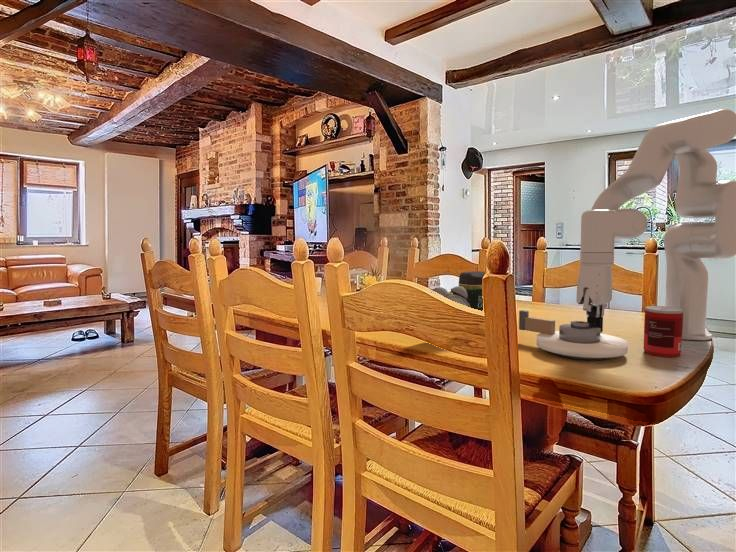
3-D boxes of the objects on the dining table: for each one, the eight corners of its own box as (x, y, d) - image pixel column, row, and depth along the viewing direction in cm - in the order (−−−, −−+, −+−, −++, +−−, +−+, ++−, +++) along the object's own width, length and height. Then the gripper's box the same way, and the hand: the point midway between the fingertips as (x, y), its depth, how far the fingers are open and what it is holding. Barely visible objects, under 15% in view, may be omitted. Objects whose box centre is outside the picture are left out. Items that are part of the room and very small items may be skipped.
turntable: (539, 331, 129) (540, 306, 128) (641, 348, 108) (643, 319, 107) (497, 341, 116) (497, 314, 116) (603, 362, 96) (604, 330, 95)
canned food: (669, 349, 112) (671, 305, 111) (688, 358, 104) (691, 311, 103) (636, 349, 113) (638, 305, 112) (653, 357, 105) (655, 310, 104)
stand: (566, 343, 120) (566, 339, 119) (622, 353, 109) (623, 349, 109) (538, 351, 111) (538, 348, 111) (596, 363, 100) (596, 359, 100)
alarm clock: (434, 345, 119) (434, 288, 118) (423, 339, 126) (423, 286, 124) (472, 341, 123) (473, 286, 122) (459, 336, 129) (459, 284, 128)
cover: (570, 334, 115) (571, 317, 115) (607, 339, 108) (607, 322, 108) (551, 339, 110) (552, 321, 109) (588, 345, 103) (589, 327, 102)
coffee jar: (471, 338, 126) (471, 272, 125) (453, 333, 133) (453, 271, 132) (497, 335, 131) (498, 271, 129) (478, 330, 138) (479, 269, 136)
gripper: (595, 258, 120) (593, 326, 121) (567, 260, 111) (565, 334, 112) (625, 258, 114) (622, 330, 116) (598, 261, 105) (596, 338, 106)
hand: (594, 331), depth 114 cm, fingers closed
